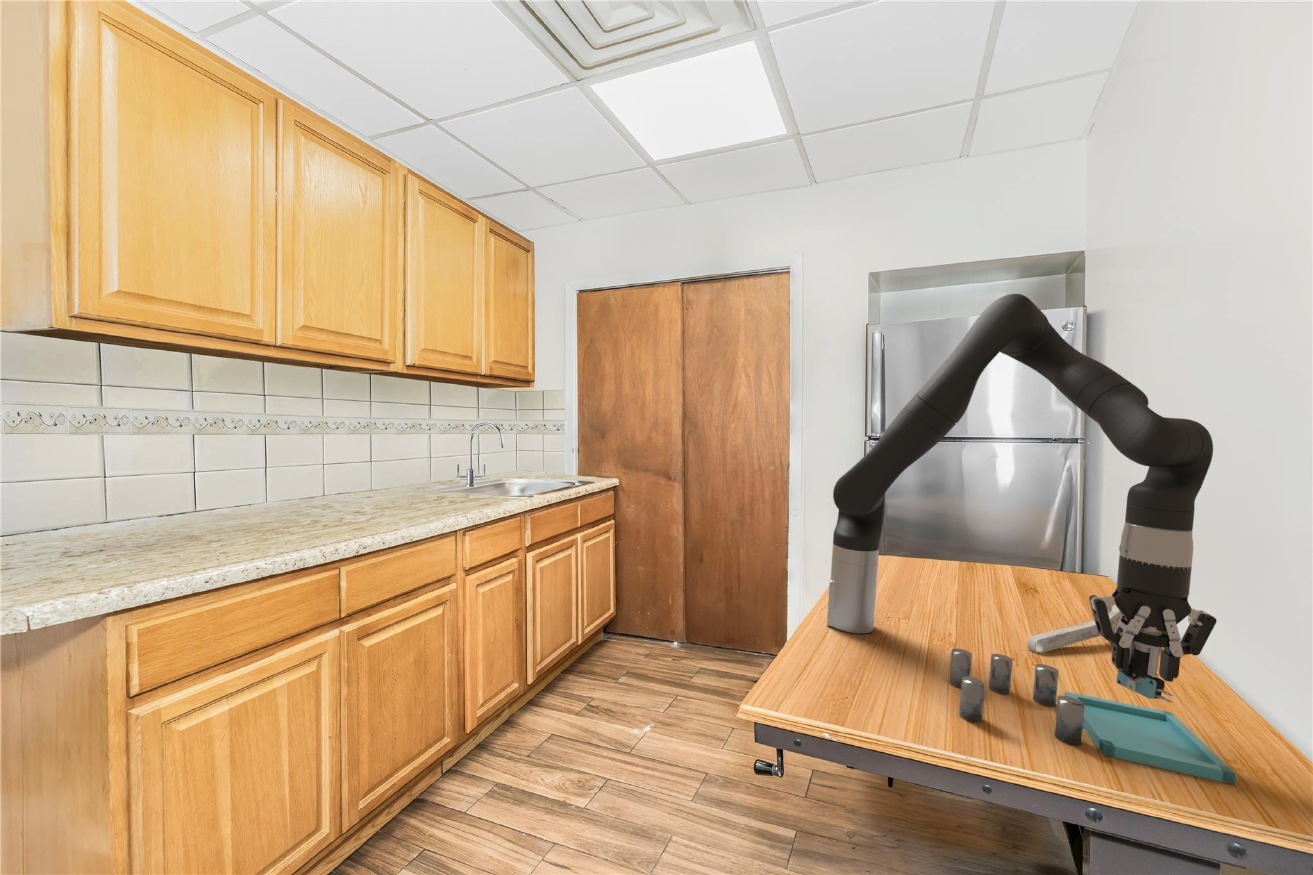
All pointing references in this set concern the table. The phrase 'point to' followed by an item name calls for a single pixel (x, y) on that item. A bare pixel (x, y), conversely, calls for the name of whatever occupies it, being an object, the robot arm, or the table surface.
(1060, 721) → the standoff cluster
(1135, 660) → the push button
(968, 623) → the table surface
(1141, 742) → the tray
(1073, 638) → the wrench
